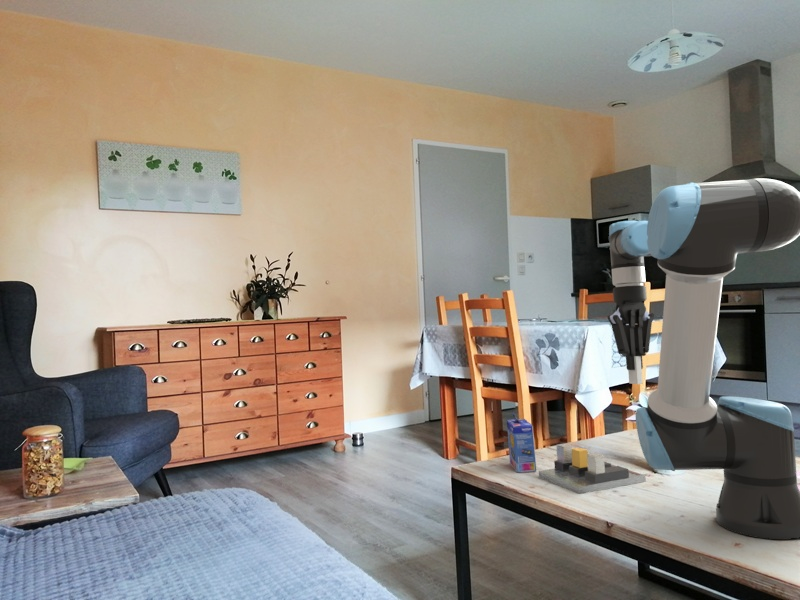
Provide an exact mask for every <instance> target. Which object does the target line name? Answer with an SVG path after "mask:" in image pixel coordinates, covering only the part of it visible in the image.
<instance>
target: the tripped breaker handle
mask: <svg viewBox="0 0 800 600" xmlns="http://www.w3.org/2000/svg"><path fill="white" fill-rule="evenodd" d="M571 450H572V465H573V466H576V467H579V468H583V467H588V463H587V454H589V453H588V449H587V448H582V447H575V448H572V449H571Z"/></svg>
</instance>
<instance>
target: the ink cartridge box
mask: <svg viewBox="0 0 800 600" xmlns="http://www.w3.org/2000/svg"><path fill="white" fill-rule="evenodd" d="M511 415H512V417H513V419H512V418H511V419H506V428H507V440H508V441H507V442H508V454H509V464H510V465H511V467H512V468H513V469H514V471H515V472H516V473H517V474H518V473H535V472H538V471H537V470H538V469H537V458H536V451H535V438H534V436H535V435H534V426H533V424H532V423H530V422H529V421H528V420H527V419H525V418H518V417H517V416H516V414H515V413H513V412H511Z"/></svg>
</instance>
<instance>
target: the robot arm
mask: <svg viewBox="0 0 800 600" xmlns="http://www.w3.org/2000/svg"><path fill="white" fill-rule="evenodd" d="M651 204H652V205H651V207H650V211H649V214H648V218H647V220H639V221H638V220H623V221H617V222H614V223H612V224H610V225H609V229H608V230H609V231H608V232H609V233H608V235H609V236H608V241H609V251H610V263H611V264H610V265H611V279H612V280H611V281H612V282H611V283H612V285H613V286H615V287H613V289H612V296H613V297H612V298H613V299H612V300H613V302H614V303H615V309H614V312H613V314H609V315H608V316H607V320H608V321H609V324H610V326H611V329H612V333H613V337H614V341H615V344H616V347H617V348H616V349H617V353H618V354H619V355H622V357H625V361H626V362H625V363H626V370H627V371H628V383H629V384H633V385H641V384H643V372H642V371H643V368H644V365H643V364H644V363H643V357H644V356H646V355H647V353H649V351H650V341H651V333H652V323H653V321H654V318H655V313H653V312H651V313H649V311H647V307H646V305H645V302H646V301H647V300H648V299H647V298H648V297H647V286H645V285H644V284H645V283H646V282H647V281H646V270H645V257H653V258H655V259H657V263H656V264H657V266H658V268H660V269H661V270H662V272H664V273H665V274H666V275H665V289H664V298H663V299H664V300H663V301H664V302H663V312H662V313H663V314H662V326H661V327H662V328H661V337H660V338H661V339H660V352H659V364H658V365H659V366H658V367H659V368H658V380H657V389H655V390H653V391H652V392H651V393H649V396H648V398H647V406H646V407H645V406H641V407H638V408H637V409H636V411H635V425H636V430H637V436H638V437H637V438H638V440H639V445H640V447H641V451H642V454H643V456H644V458H645V461H646V463H647V464H648V465H649V467H650V468H652V469H654V470H656V471H657V470H660V471H672V472H675V471H683V470H685V471H686V470H687V471H691V470H693V471H695V470H723V484H722V486H721V489H720V494H719V497H718V502H717V504H716V507H715V516H716V522H717V523H718V524H719V525H720V526H721V527H723V528H724V529H726V530H729V531H731V532H734V533H737V534H740V533H741V534H740V535H743V536H744V535H745V536H748V535H749V536H748V537H755V538H761V539H768V538H769V539H771V540H792V539H791V538H797V539H799V538H798V537H800V489H799V486H798V481H797V477H798V475H797V462H796V461H797V460H796V447H795V446H796V445H795V431H796V429H795V428H794V422H793V416H792V412H791V410H790V409H789V407H788V406H786V405H784V404H782V403H781V402H776V401H770V400H767V399H765V400H764V399H760V398H751V397H745V396H744V397H742V396H731V395H730V396H729V395H728V396H727V395H726V396H724V395H723V396H720V397H719V399H718V401H717V403H716V401H715V400H714V399H713V398H712V397H710V394H711V393H710V392H711V385H712V384H711V383H712V377H713V368H714V367H713V366H714V359H715V351H716V342H717V335H718V334H717V333H718V324H719V315H720V307H721V298H722V291H723V281H724V278H725V277H726V276H727V275H728V274H730V273H731V272H733V271H734V270H735V269H736V263H737V255H738V254H739V255H740V254H746V253H749V254H750V253H758V252H767V251H772V250H775V249H779V248H782V247H784V246H786V245H788V244H790V243H792V242H793V241H795V240H797V238H798V237H799V236H800V191H798V190H797V189H796V188H795V187H794V186H792V185H790V184H788V183H785V182H783V181H781V180H777V179H771V178H762V177H761V178H759V177H758V178H750V179H739V180H724V181H722V180H721V181H720V180H719V181H710V182H706V181H705V182H689V183H685V184H679V185H671V186H668V187H665V188H663V189H661V191H660V192H659V193H658V194H657V195H656V197H655V198H654V200H653V202H652V203H651ZM717 404H718V405H717Z"/></svg>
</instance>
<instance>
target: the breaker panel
mask: <svg viewBox="0 0 800 600" xmlns="http://www.w3.org/2000/svg"><path fill="white" fill-rule="evenodd" d="M571 449H573V446H572V445H571V444H567V443H560V444H556V459H557V460H554V461H553V463H554V468H550V469H543V470H538V478H540V479H543V480H544V481H546V482H549V483H552V484H555V485H557V486H559V487H561V488H564V489H566V490H569V491H572V492H574V493H576V494H579V495H580V494H586V493H591V492H596V491H601V490H606V489H612V488H617V487H624V486H628V485H629V486H630V485H634V484H638V483H644V482H646V481H647V480H646V474H644V473H641V472H637V471H634V470H632V469H628V468H626V467H622V466H619V465H614V464H612V463H610V462H607V461H605V456H604V454H601V453H597V452H592V453H588V454H587V463H588V467H583V468H579V467H576V466H573V465H572V450H571Z"/></svg>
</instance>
